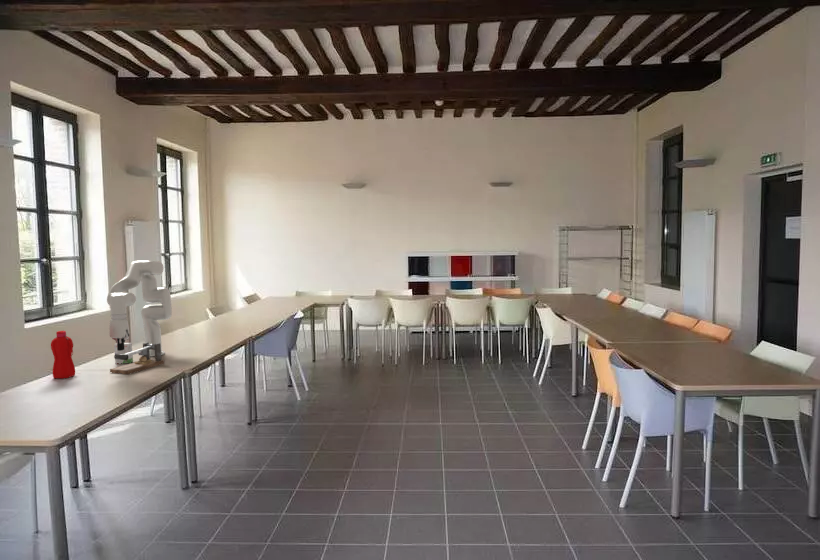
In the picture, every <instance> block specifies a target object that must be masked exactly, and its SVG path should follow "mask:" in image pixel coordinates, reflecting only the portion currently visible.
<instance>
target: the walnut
mask: <svg viewBox="0 0 820 560" xmlns="http://www.w3.org/2000/svg"><path fill="white" fill-rule="evenodd" d="M138 361H140V362H145V361H147V358H146V357H145V356H143V355H140V357H139V358H138Z"/></svg>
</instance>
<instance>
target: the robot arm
mask: <svg viewBox="0 0 820 560" xmlns="http://www.w3.org/2000/svg"><path fill="white" fill-rule="evenodd" d="M164 268H165V267H164V264H163V263H162V262H161V261H160V260H134V261H132V262H130V264H129V265H128V267H127V270H126V272H125V275H124V277H123V278H121V279H120V280H119V281H118V282H115V284H113V285H112V286H111V287H110V289H109V291H108V293H107V297H106V302H107V305H108V306H110V320H109V328H108V329H109V332H108V333H109V334H108V335H109V338H111V339H112V340H114V342H115V344H117V350H118V351H121V350H124V343H126V341H128V340H129V337H130V325H129V321H128V319H127V318H128V317H127V307H130V306H131V307H132V306H133V305H135V304H136V301H137V300H136V299H137V297H136V295H135V294H134V293H132V292H126V291H128V290H131V289H134V288H137V287H138V286H139V285H140V282H141V289H142V290H141V292H142V300H143V302H144V303H147V305H144V306H143V307H142V308H141V309H140V310H141V311H140V313H141V314H140V315H141V318H142V321H143V333H144V343H149V344H157V343H160V345H161V356H163V355H165V354H166V353H165V352H166V351H164V350H163V348H162V346H163V345H162V331H161V325H160V323H159V322H158V321H161V320H166V321H167V320H169V319H171V317H172V312H173V311H172V299H171V292H170V290H169V288H167V287H164V286H163V287H158V284H157V278H156V276H160V275H162V274H163V272H164ZM149 303H150V304H149ZM151 303H152V304H151ZM155 303H156V304H155ZM158 303H161V304H158ZM149 353H150V357H155V350H149Z"/></svg>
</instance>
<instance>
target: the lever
mask: <svg viewBox="0 0 820 560" xmlns="http://www.w3.org/2000/svg"><path fill="white" fill-rule="evenodd" d="M147 350H155V346H154V344H146V346H145V347H144V348H143V347H142V348H137V349H135V350H132V352H129V353H126V354H115V353H114V356H113V358H114V360H115V359H119V360H127V359H128V357H129V356H132V355H133V356H135V355H137V354H138V356H143V355H146V354H147Z"/></svg>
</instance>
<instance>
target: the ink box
mask: <svg viewBox="0 0 820 560" xmlns="http://www.w3.org/2000/svg"><path fill="white" fill-rule="evenodd" d="M113 348H114V349H113V351H114V355H115V354H126V353H129V352H132V351H133V343H132V342H125V343H124V350H121V351H118V350H117V343H114V344H113ZM131 362H132V363H134V355H132V356H129V357H128V359H127V360H119V359H115V358H114V363H115V365H124V364H123V363H129V364H130V363H131ZM117 363H119V364H117ZM121 363H122V364H121Z"/></svg>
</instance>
